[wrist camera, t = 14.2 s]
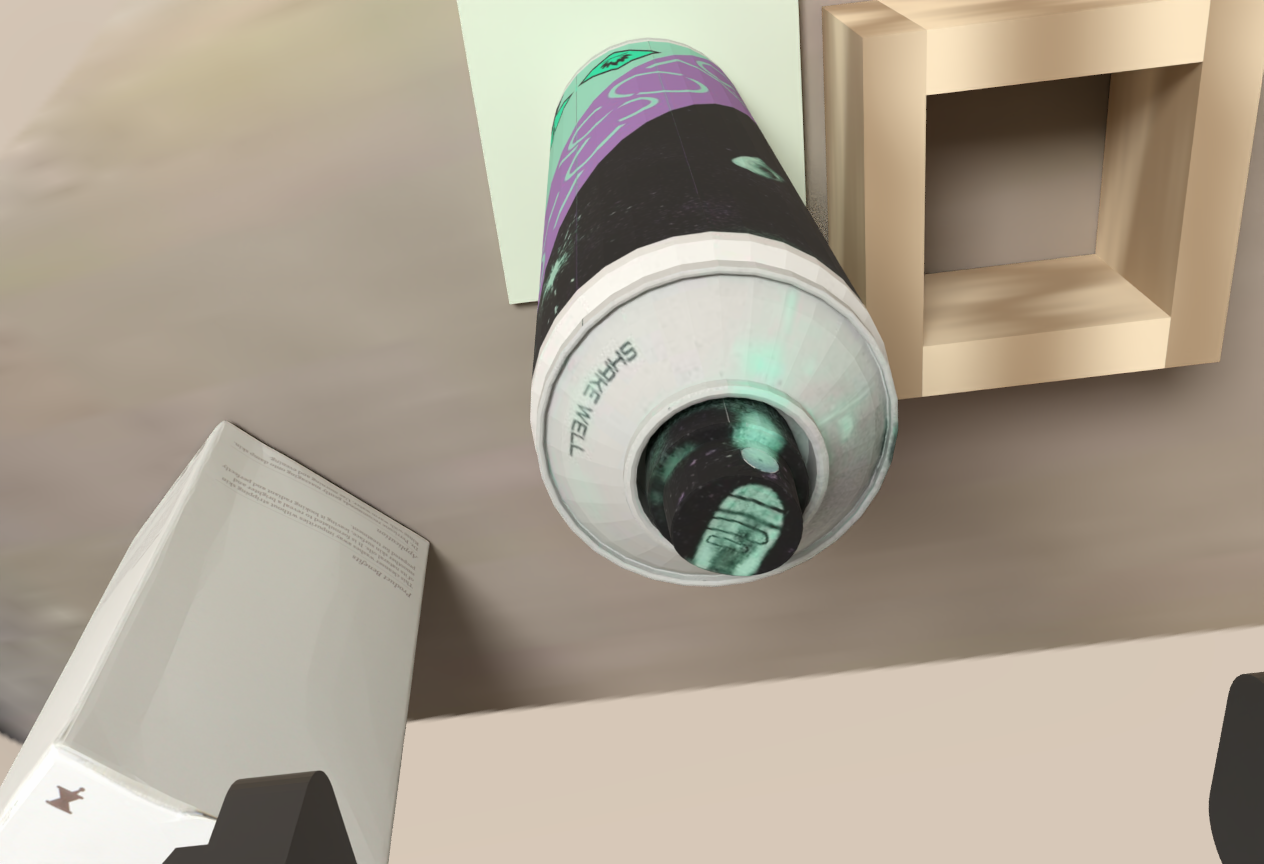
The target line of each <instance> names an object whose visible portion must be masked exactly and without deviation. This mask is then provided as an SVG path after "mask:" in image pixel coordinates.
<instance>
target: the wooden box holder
mask: <svg viewBox="0 0 1264 864" xmlns="http://www.w3.org/2000/svg"><path fill="white" fill-rule="evenodd" d="M822 32H823V66H824V101H825V135H826V169H827V204H828V238H829V247H830V248H831V250H832V252H833V253H834V255H835V257H836V258H837V260H838V262H839V264H840V265H841V267H842V269H843V270H844V272H845V274H846V275H847V277H848V279H849V280H850V282H851V284H852V285H853V287H854V289H855V291H856V292H857V294H858V296H859V297H860V299H861V301H862V302H863V304H864V306H865V307H866V309H867V311H868V313H869V314H870V316H871V318H872V320H873V322H874V324H875V326H876V328H877V330H878V332H879V334H880V336H881V338H882V340H883V342H884V346H885V350H886V354H887V358H888V362H889V366H890V370H891V374H892V378H893V382H894V386H895V390H896V394H897V398H898V400H900V399H908V398H917V397H925V396H934V395H942V394H950V393H959V392H967V391H976V390H984V389H993V388H1001V387H1010V386H1018V385H1027V384H1035V383H1044V382H1052V381H1060V380H1069V379H1077V378H1086V377H1094V376H1103V375H1111V374H1120V373H1128V372H1137V371H1145V370H1154V369H1162V368H1170V367H1179V366H1187V365H1196V364H1204V363H1213V362H1220V357H1221V350H1222V344H1223V337H1224V330H1225V324H1226V317H1227V310H1228V304H1229V297H1230V290H1231V284H1232V277H1233V270H1234V264H1235V257H1236V251H1237V244H1238V237H1239V231H1240V224H1241V217H1242V211H1243V204H1244V197H1245V191H1246V184H1247V177H1248V171H1249V164H1250V158H1251V151H1252V144H1253V138H1254V131H1255V124H1256V118H1257V111H1258V104H1259V98H1260V91H1261V85H1262V78H1263V71H1264V0H873V1H864V2H856V3H848V4H840V5H832V6H824V7H822ZM1106 73H1111V80H1110V92H1109V103H1108V114H1107V126H1106V137H1105V148H1104V159H1103V171H1102V182H1101V193H1100V205H1099V216H1098V227H1097V239H1096V250H1095V254H1091V255H1083V256H1075V257H1066V258H1058V259H1050V260H1041V261H1033V262H1025V263H1016V264H1008V265H999V266H991V267H983V268H974V269H966V270H958V271H949V272H941V273H933V274H924V225H925V147H926V95H933V94H942V93H950V92H958V91H966V90H974V89H983V88H991V87H999V86H1007V85H1015V84H1024V83H1032V82H1040V81H1048V80H1056V79H1065V78H1073V77H1081V76H1089V75H1097V74H1106Z"/></svg>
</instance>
